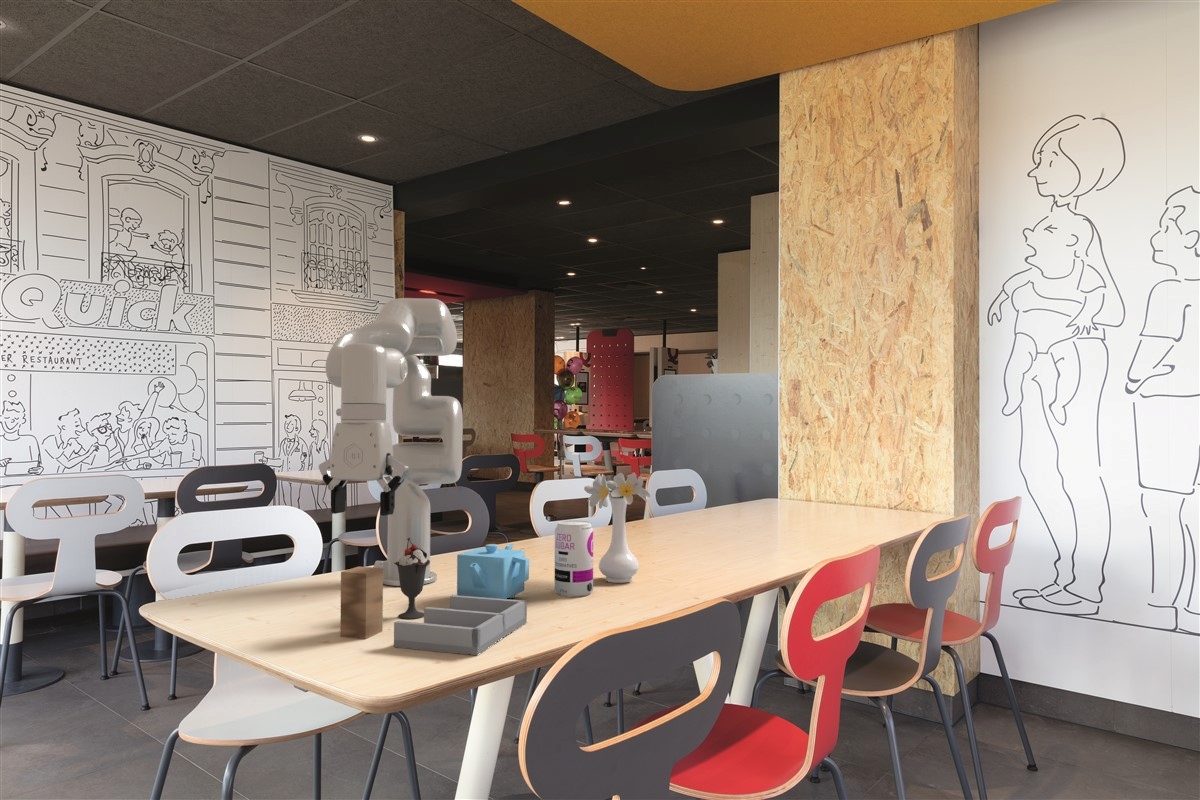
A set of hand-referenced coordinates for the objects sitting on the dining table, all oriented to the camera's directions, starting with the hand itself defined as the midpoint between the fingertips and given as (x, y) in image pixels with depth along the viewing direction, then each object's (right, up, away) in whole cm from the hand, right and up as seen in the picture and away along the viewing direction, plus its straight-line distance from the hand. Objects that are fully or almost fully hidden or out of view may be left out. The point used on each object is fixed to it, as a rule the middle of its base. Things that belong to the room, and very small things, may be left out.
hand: (362, 513), depth 132 cm
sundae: (+6, -21, +12) cm, 25 cm away
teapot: (+19, -22, +25) cm, 38 cm away
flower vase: (+45, -22, +44) cm, 66 cm away
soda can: (+36, -22, +31) cm, 52 cm away
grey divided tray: (+18, -21, 0) cm, 27 cm away
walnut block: (0, -21, 0) cm, 21 cm away
